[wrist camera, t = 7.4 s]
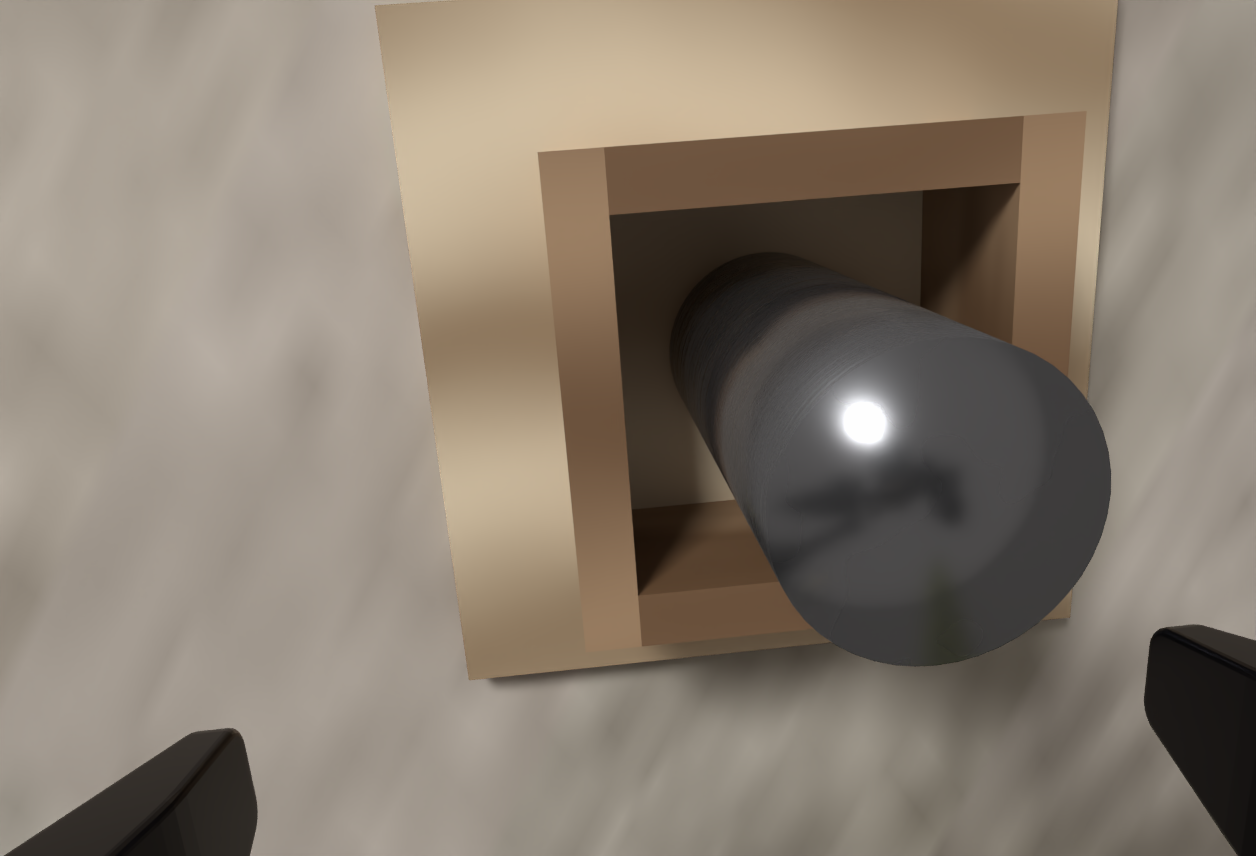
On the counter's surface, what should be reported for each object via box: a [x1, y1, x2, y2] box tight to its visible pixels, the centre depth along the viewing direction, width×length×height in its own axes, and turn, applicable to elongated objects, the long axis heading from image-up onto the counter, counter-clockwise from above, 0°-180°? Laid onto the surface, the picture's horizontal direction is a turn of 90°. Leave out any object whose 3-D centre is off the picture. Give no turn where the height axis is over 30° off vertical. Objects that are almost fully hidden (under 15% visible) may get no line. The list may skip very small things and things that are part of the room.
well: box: [375, 0, 1118, 680], centre depth 18 cm, size 14×14×5 cm
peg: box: [670, 252, 1111, 666], centre depth 15 cm, size 4×4×9 cm
